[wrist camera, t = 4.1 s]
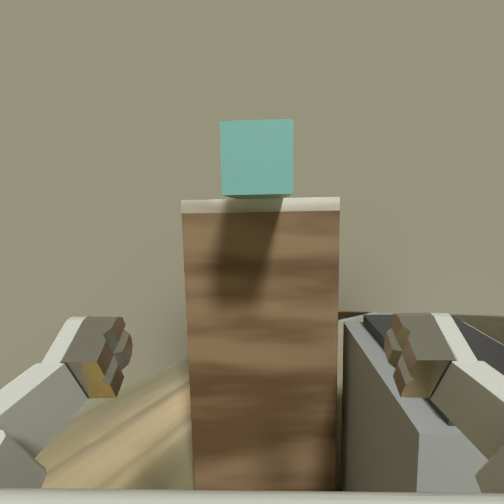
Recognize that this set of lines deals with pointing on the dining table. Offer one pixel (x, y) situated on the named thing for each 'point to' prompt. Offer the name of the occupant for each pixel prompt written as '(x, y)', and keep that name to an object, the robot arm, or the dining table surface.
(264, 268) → the stand
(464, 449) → the phone dock
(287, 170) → the long teal bar
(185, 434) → the dining table surface
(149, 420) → the dining table surface
